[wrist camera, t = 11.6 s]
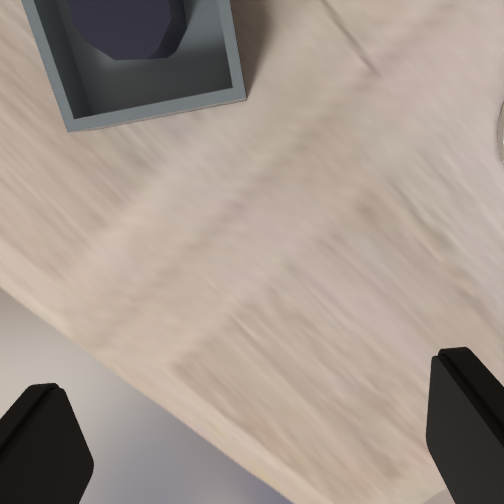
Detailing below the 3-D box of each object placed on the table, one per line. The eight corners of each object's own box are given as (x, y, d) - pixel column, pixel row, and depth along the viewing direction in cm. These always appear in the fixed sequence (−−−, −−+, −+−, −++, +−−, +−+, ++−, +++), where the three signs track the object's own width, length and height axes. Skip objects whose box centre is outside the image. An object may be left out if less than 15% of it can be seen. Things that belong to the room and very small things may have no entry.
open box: (211, -106, 25) (203, -152, 20) (246, 100, 29) (246, 97, 25) (30, -64, 25) (-14, -100, 21) (93, 130, 30) (67, 132, 26)
